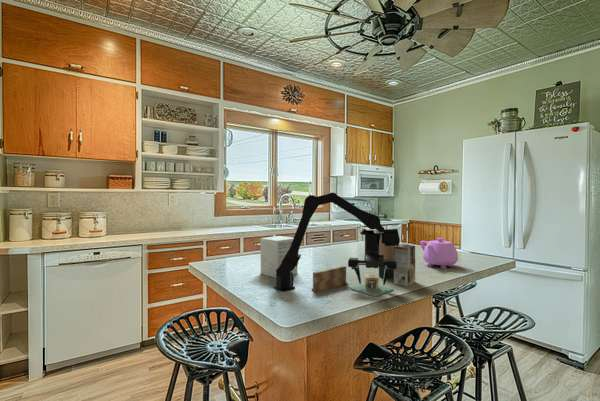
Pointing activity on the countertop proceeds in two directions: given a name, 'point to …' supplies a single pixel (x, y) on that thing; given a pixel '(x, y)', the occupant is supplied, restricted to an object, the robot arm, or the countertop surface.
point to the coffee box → (404, 264)
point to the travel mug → (388, 254)
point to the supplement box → (274, 254)
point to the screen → (329, 278)
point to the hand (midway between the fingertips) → (371, 284)
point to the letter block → (372, 282)
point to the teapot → (439, 253)
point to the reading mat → (371, 292)
